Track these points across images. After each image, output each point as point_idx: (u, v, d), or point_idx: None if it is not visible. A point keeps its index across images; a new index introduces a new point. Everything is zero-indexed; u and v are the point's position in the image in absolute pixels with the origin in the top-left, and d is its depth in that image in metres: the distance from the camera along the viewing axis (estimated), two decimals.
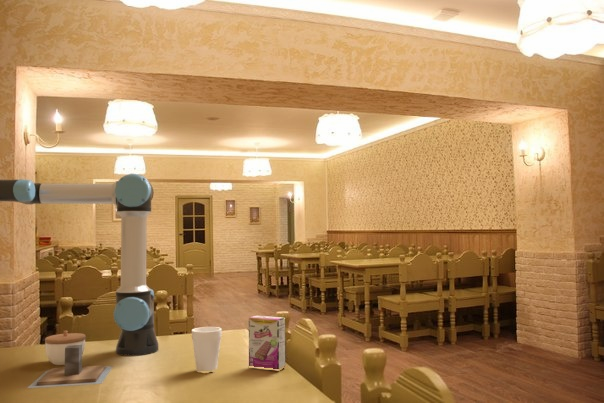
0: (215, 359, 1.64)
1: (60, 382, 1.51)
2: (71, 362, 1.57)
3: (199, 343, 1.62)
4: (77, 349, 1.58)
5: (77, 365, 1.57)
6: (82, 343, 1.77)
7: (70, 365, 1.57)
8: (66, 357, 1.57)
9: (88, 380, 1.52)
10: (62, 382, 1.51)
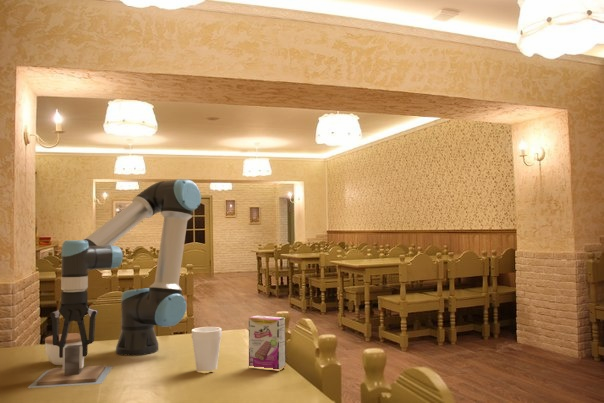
0: (215, 359, 1.64)
1: (60, 382, 1.51)
2: (71, 362, 1.57)
3: (199, 343, 1.62)
4: (77, 349, 1.58)
5: (77, 365, 1.57)
6: None
7: (70, 365, 1.57)
8: (66, 357, 1.57)
9: (88, 380, 1.52)
10: (62, 382, 1.51)
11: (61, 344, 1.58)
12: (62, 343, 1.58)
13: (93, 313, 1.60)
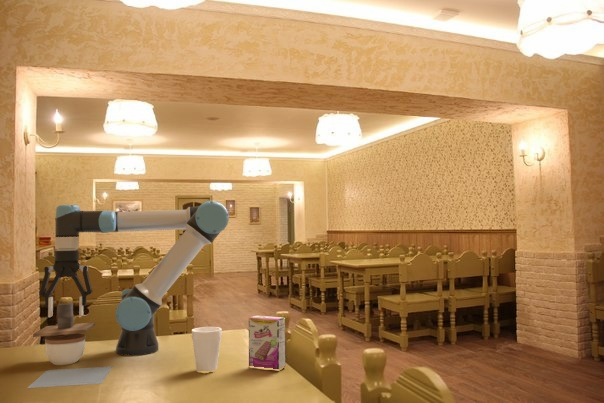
0: (215, 359, 1.64)
1: (54, 333, 1.70)
2: (63, 318, 1.76)
3: (199, 343, 1.62)
4: (68, 306, 1.77)
5: (69, 320, 1.76)
6: (82, 343, 1.77)
7: (63, 320, 1.76)
8: (59, 313, 1.76)
9: (79, 331, 1.71)
10: (56, 333, 1.70)
11: (47, 295, 1.76)
12: (48, 294, 1.76)
13: (84, 268, 1.79)
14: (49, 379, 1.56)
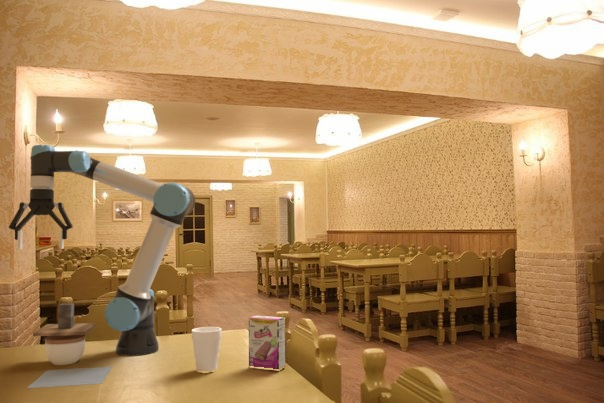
0: (215, 359, 1.64)
1: (54, 334, 1.70)
2: (64, 318, 1.76)
3: (199, 343, 1.62)
4: (69, 306, 1.76)
5: (69, 320, 1.76)
6: (82, 343, 1.77)
7: (63, 320, 1.76)
8: (60, 313, 1.76)
9: (78, 333, 1.71)
10: (55, 334, 1.70)
11: (16, 228, 1.81)
12: (18, 228, 1.81)
13: (59, 204, 1.84)
14: (49, 379, 1.56)
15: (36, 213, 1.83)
